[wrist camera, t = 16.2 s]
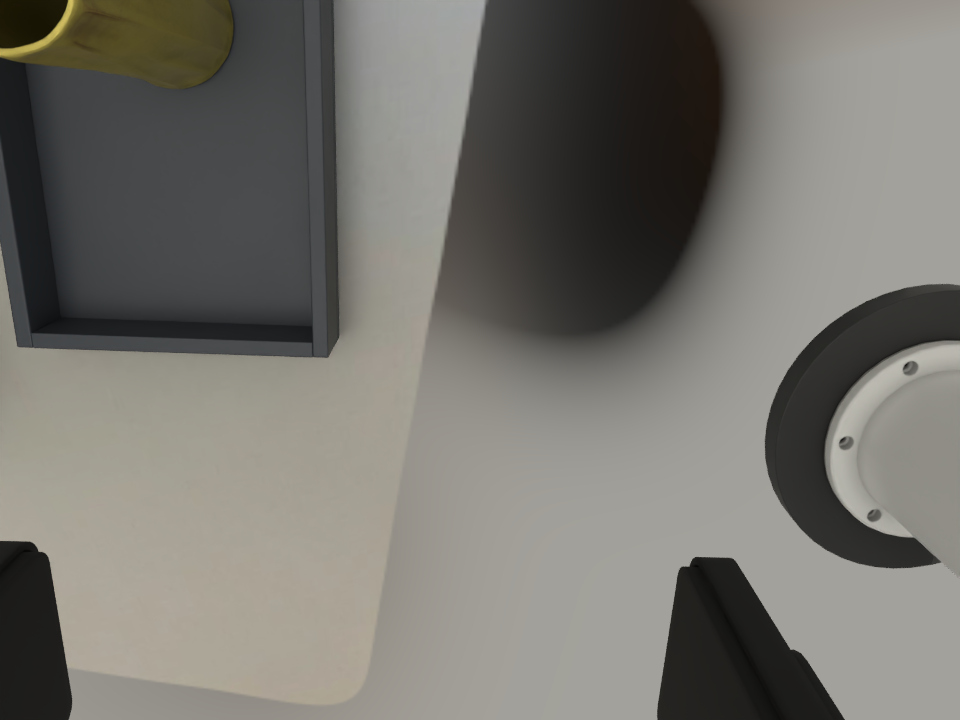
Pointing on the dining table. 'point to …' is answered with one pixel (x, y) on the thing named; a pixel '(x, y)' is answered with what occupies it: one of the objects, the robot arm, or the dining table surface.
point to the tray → (178, 198)
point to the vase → (121, 37)
